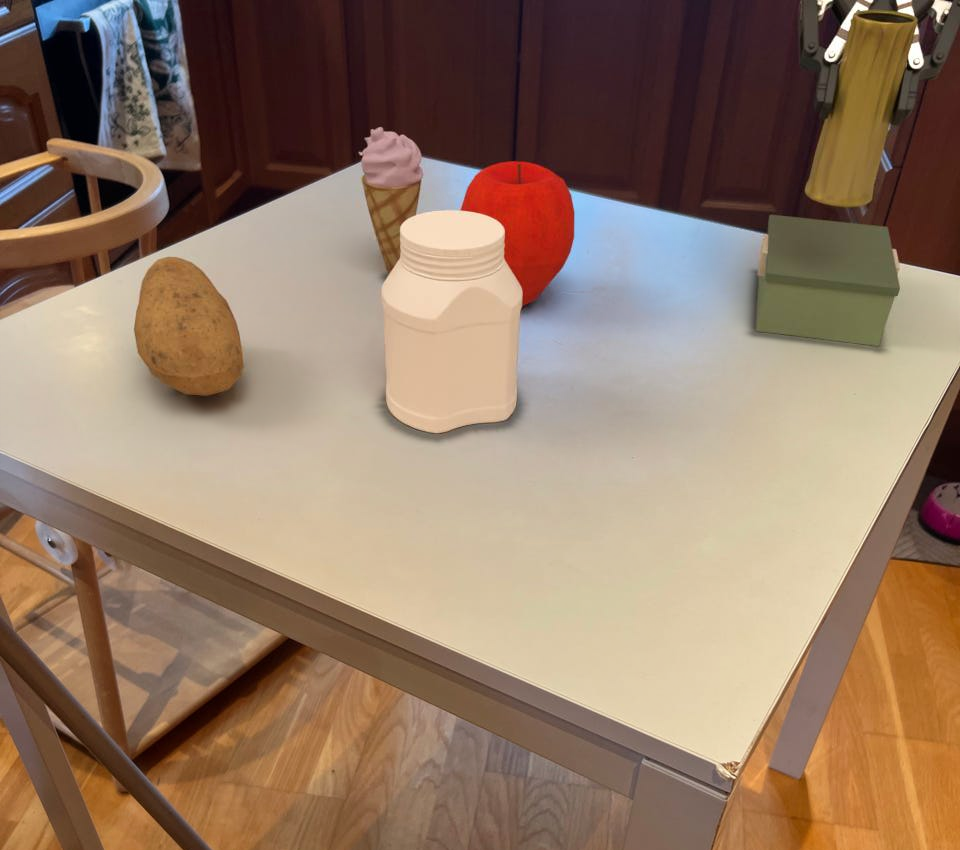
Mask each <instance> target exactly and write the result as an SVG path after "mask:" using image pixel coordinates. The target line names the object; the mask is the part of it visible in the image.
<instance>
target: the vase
mask: <svg viewBox="0 0 960 850" xmlns="http://www.w3.org/2000/svg"><path fill="white" fill-rule="evenodd" d="M917 22H918V19H917V18H916V17H915V16H913V15H910V14H906V13H902V12H896V11H888V10H863V11H858V12H856V13H854V14H853V17H852V21H851V25H850V29H849V33H848V37H847V41H846V45H845V49H844V53H843V57H842V60H841V62H840V63H839V69H838V75H837V81H836V87H835V93H834V98H833V104H832V108H831V111H830V113H829V116H828V119H824V122H823V126H822V129H821V132H820V135H819V138H818V142H817V146H816V149H815V153H814V156H813V161H812V165H811V169H810V173H809V177H808V180H807V182H806V184H805V188H804V193H805V195H806V196H807V197H808V198H809V199H810V200H812V201H815V202H817V203H820V204H822V205H827V206H831V207H838V208H859V207H863V206H866V205H868V204H869V203H871V201H872V200H873V196H874V186H875V183H876V180H877V179H876V178H877V176H878V171H879V167H880V164H881V159H882V156H883V153H884V148H885V144H886V139H887V136H888V132H889V129H890V126H891V119H892V114H893V109H894V106H895V102H896V98H897V95H898V91H899V87H900V83H901V80H902V77H903V74H904V70H905V66H906V63H907V59H908V55H909V52H910V49H911V45H912V41H913V38H914V34H915V30H916V27H917Z"/></svg>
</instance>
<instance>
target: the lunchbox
mask: <svg viewBox="0 0 960 850" xmlns="http://www.w3.org/2000/svg"><path fill="white" fill-rule="evenodd" d="M757 262H758V263H757V276H758V287H757V305H756V317H755V318H756V320H755V321H756V322H755V332H761V333H768V334H777V335H786V336H793V337H801V338H809V339H816V340H817V339H818V340H826V341H835V342H842V343H848V344H849V343H850V344H857V345H864V346H865V345H867V346H874V347H879V346H880V344H881V340H882V337H883V334H884V331H885V329H886V324H887V322H888V318H889V315H890V313H891V309H892V307H893V303H894V300H895V297H898V296H899V293H900V290H901V286H900V281H899V277H898V275H899V272H900V269H901V266H900V261H899V257H898V252H897V249H896V248H893V247H892V241H891V236H890V230H889V227H888V226H881V225H873V224H862V223H853V222H844V221H834V220H825V219H815V218H806V217H797V216H788V215H778V214H769V216H768V220H767V234H763V235H762V240H761V245H760V249H759V253H758V261H757Z"/></svg>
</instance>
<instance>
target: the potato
mask: <svg viewBox="0 0 960 850" xmlns="http://www.w3.org/2000/svg"><path fill="white" fill-rule="evenodd" d="M134 318H135V319H134V325H133V331H134V338H135V344H136V350H137V354H138V356H139V357H140V358H141V360H142V361H143V363H144V365H145V366H146V367H147V369H148V371H149V372H150V373H151V374H152V375H153V376H155V377H156V378H157V379H158V380H160V381H161V383H163V384H164V385H166V386H168V387H170V388H172V389H174V390H175V391H178V392H180V393H182V394H183V395H190V396H191V395H192V396H204V397H205V396H206V397H208V396H212V395H215V394H219V393H223V392H224V391H229V390H230V389H231V388H232V387H233V385H234V384H235V383H236V382H237V380H238V379H239V378H240V377H241V375H242V373H243V369H244V366H245V365H244V364H245V362H244V356H243V349H242V348H243V347H242V341H241V336H240V335H241V334H240V330H239V326H238V322H237V320H236V318H235V316H234V313H233V311H232V309H231V307H230V305H229V303H228V301H227V299H226V298H225V297H224V296H223V295H222V293H220V292H219V290H218V289H217V288H216V286H215V285H214V283H213V282H212V280H211V279H210V278H209V277H208V276H207V275H206V273H205V272H204V271H203V270H202V268H200V267H198V266H197V265H196V264H194V263H193V262H192V261H190V260H187V259H184V258H181V257H178V256H166V257H163V258H158V259H157V260H156V261H155V262H154V263H153V264H151V266H150V267H149V268H148V269H147V270H146V273H145V275H144V277H143V279H142V280H141V285H140V290H139V297H138V304H137V308H136V310H135V317H134Z"/></svg>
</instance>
